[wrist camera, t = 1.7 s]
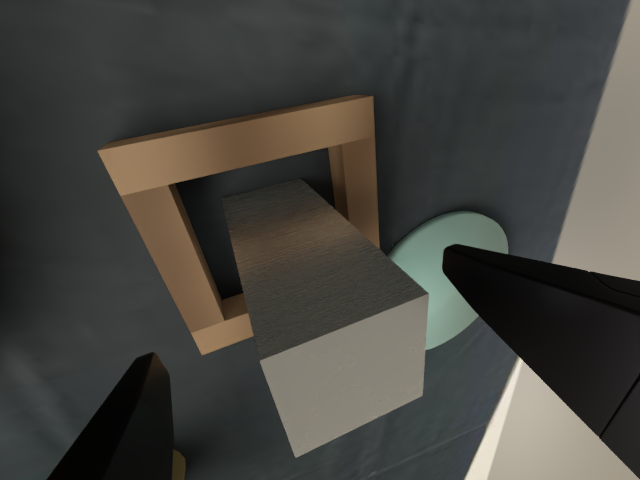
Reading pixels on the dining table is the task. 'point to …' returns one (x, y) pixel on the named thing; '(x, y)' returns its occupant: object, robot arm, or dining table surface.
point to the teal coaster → (426, 266)
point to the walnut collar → (227, 154)
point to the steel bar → (325, 313)
